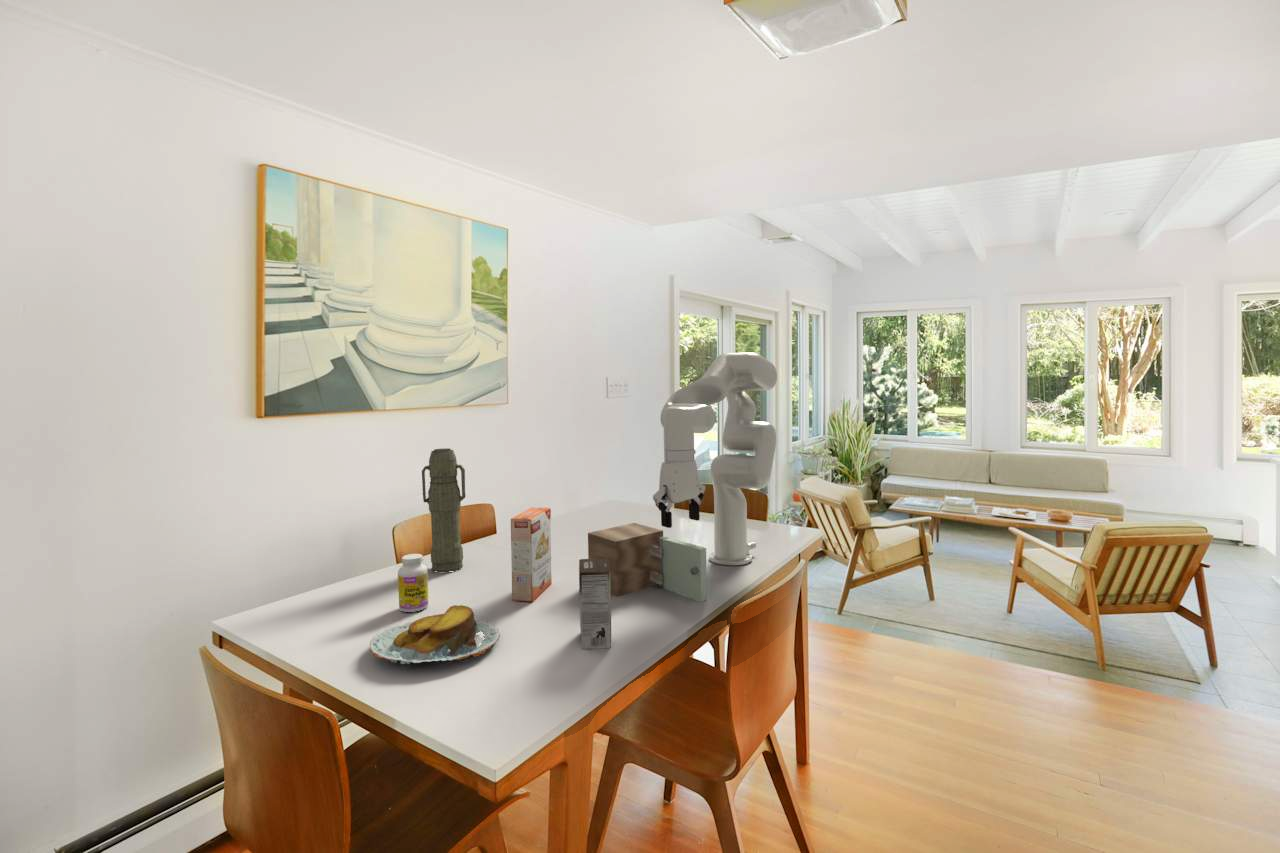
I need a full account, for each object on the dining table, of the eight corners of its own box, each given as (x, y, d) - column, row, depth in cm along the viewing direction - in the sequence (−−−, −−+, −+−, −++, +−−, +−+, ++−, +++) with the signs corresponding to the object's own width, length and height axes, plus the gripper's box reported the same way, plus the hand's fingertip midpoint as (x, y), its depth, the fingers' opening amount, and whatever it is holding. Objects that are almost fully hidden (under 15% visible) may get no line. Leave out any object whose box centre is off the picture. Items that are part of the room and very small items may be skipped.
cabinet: (635, 571, 173) (634, 522, 172) (674, 585, 161) (674, 533, 160) (589, 584, 163) (587, 532, 162) (627, 600, 150) (626, 544, 149)
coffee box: (580, 631, 133) (579, 558, 131) (610, 629, 133) (609, 557, 132) (580, 649, 124) (578, 571, 122) (612, 648, 124) (610, 570, 123)
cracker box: (534, 603, 150) (531, 519, 148) (511, 601, 151) (508, 518, 150) (553, 584, 164) (551, 506, 162) (532, 582, 165) (530, 506, 163)
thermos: (470, 569, 177) (465, 449, 174) (427, 575, 173) (421, 452, 170) (467, 561, 185) (462, 446, 182) (425, 566, 181) (420, 449, 178)
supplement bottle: (401, 615, 143) (398, 562, 142) (397, 606, 149) (395, 555, 148) (430, 610, 146) (428, 557, 145) (426, 601, 152) (424, 551, 151)
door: (664, 584, 162) (664, 536, 161) (707, 599, 150) (706, 547, 149) (655, 587, 160) (654, 538, 159) (697, 603, 148) (697, 550, 147)
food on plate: (363, 640, 131) (362, 610, 130) (479, 616, 143) (478, 588, 143) (381, 691, 109) (379, 655, 108) (516, 657, 122) (515, 625, 121)
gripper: (692, 450, 161) (694, 514, 163) (643, 458, 150) (645, 527, 152) (714, 453, 156) (715, 519, 157) (663, 461, 144) (665, 532, 146)
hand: (680, 523), depth 155 cm, fingers open, 9 cm apart
